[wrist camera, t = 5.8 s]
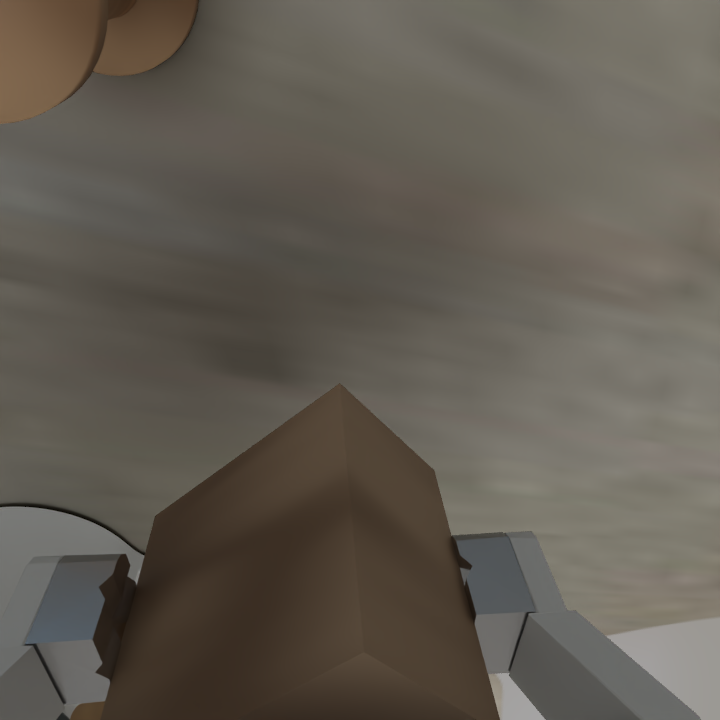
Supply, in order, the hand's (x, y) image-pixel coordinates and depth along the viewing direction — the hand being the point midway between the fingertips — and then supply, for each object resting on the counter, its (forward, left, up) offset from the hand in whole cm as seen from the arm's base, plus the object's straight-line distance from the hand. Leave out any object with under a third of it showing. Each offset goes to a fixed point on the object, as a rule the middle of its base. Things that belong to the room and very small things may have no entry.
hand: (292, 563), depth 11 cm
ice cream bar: (-1, +1, -2) cm, 2 cm away
